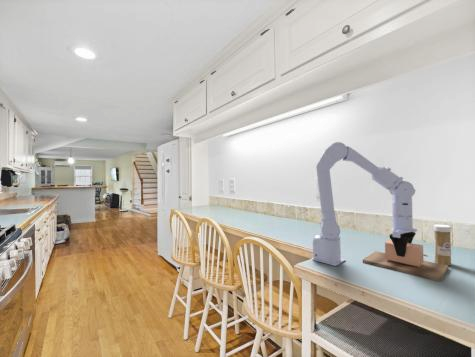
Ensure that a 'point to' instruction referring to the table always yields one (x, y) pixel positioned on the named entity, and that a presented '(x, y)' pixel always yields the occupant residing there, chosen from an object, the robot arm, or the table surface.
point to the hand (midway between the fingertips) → (403, 254)
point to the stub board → (408, 266)
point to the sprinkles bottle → (442, 244)
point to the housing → (411, 256)
